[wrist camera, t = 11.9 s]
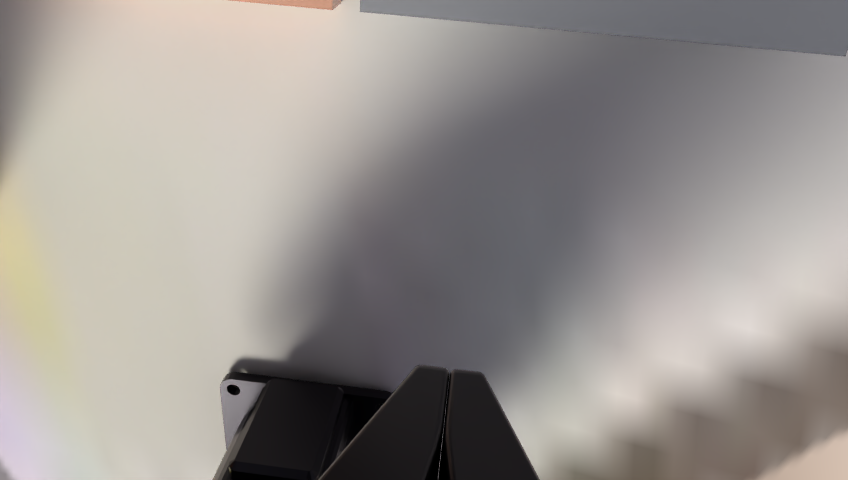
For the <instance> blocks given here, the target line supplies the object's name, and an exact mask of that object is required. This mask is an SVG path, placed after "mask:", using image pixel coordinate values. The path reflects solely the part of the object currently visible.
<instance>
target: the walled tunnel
mask: <svg viewBox="0 0 848 480" xmlns="http://www.w3.org/2000/svg"><path fill="white" fill-rule="evenodd" d="M360 12H368V13H379V14H390V15H400V16H411V17H422V18H433V19H444V20H455V21H466V22H477V23H488V24H499V25H509V26H520V27H531V28H542V29H553V30H564V31H575V32H586V33H597V34H608V35H618V36H629V37H640V38H651V39H662V40H673V41H684V42H695V43H706V44H716V45H727V46H738V47H749V48H760V49H771V50H782V51H793V52H804V53H815V54H825V55H836V56H846V53H847V50H848V0H360Z"/></svg>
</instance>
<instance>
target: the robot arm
mask: <svg viewBox="0 0 848 480" xmlns="http://www.w3.org/2000/svg"><path fill="white" fill-rule="evenodd" d="M448 382H449V386H448ZM233 385H236V386H237V387H239V388H236V387H234V386H233ZM447 391H448V395H447ZM220 392H221V402H222V411H223V420H224V430H225V439H226V449H227V451H226V453H225V455H224V457H223V459H222V461H221V463H220V465H219V467H218V470H217V472H216V474H215V476H214V478H213V480H540V479H539V477H538V475H537V474H536V472H535V470H534V468H533V466H532V464H531V462H530V460H529V458H528V457H527V455H526V453H525V451H524V449H523V447H522V445H521V443H520V441H519V439H518V438H517V436H516V434H515V432H514V430H513V428H512V426H511V424H510V422H509V421H508V419H507V417H506V415H505V413H504V411H503V409H502V407H501V405H500V403H499V402H498V400H497V398H496V396H495V394H494V392H493V390H492V388H491V386H490V385H489V383H488V381H487V379H486V377H485V376H484V374H482V373H481V372H476V371H468V370H460V369H454V370H452V371H451V372H450V377H449V371H448V369H446V368H443V367H435V366H427V365H418V366H416V367H415V368H414V369H413V370H412V372H411V373H410V374H409V375H408V376H407V377H406V378H405V380H404V381H403V382H402V383H401V384H400V385H399V387H398V388H397V389H396V390H395V391H394V392H393V394H392V393H390V392H387V391H382V390H374V389H366V388H358V387H350V386H342V385H334V384H326V383H318V382H310V381H302V380H294V379H286V378H278V377H271V376H263V375H255V374H247V373H239V372H231V373H229V374H227V375H226V376H225V378H224V379H223V381H222V383H221V386H220ZM446 400H447V404H446ZM379 404H383V405H382V406H380V405H379ZM445 409H446V413H445ZM444 418H445V422H444ZM443 427H444V431H443ZM442 436H443V440H442ZM441 445H442V449H441ZM440 454H441V458H440ZM439 463H440V467H439ZM438 472H439V476H438Z"/></svg>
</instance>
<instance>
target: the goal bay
mask: <svg viewBox="0 0 848 480" xmlns="http://www.w3.org/2000/svg"><path fill="white" fill-rule="evenodd" d="M230 1H241V2H252V3H263V4H274V5H285V6H296V7H306V8H317V9H328V10H333V9H334V8H336V7H337V6H338V5H339V4H341V0H230Z"/></svg>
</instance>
